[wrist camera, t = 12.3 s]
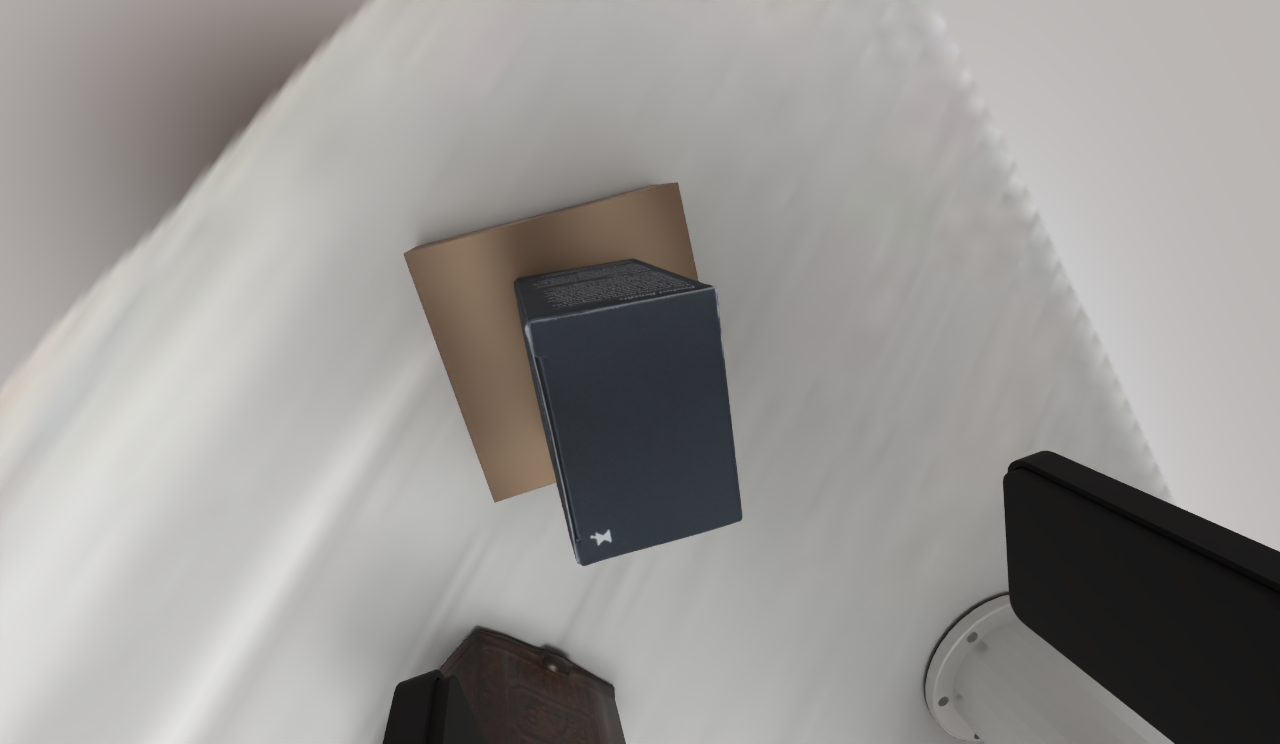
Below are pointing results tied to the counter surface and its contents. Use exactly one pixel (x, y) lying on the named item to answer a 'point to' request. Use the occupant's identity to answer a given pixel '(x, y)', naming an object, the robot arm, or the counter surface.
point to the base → (489, 318)
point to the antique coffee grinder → (532, 694)
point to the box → (631, 404)
